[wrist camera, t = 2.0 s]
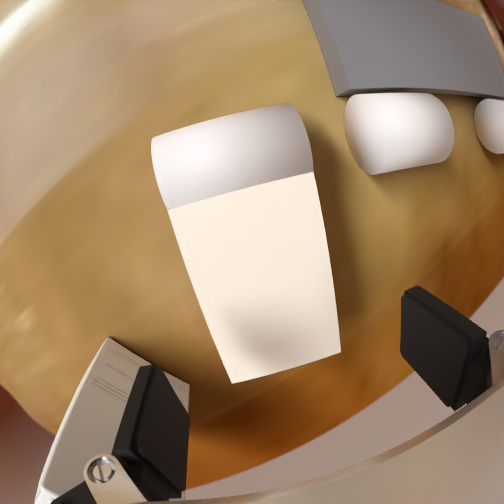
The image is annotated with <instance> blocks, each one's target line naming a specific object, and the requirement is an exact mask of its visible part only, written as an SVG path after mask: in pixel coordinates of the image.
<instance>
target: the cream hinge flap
mask: <svg viewBox="0 0 504 504" xmlns="http://www.w3.org/2000/svg"><path fill="white" fill-rule="evenodd" d="M151 153H152V161H153V167H154V172H155V176H156V180H157V183H158V187H159V190H160V193H161V196H162V198H163V201H164V203H165V206H166V208H167V210H168V213H169V216H170V219H171V222H172V226H173V229H174V232H175V235H176V238H177V241H178V244H179V247H180V250H181V253H182V256H183V259H184V262H185V265H186V268H187V271H188V273H189V276H190V279H191V282H192V285H193V287H194V290H195V293H196V296H197V298H198V301H199V304H200V306H201V309H202V312H203V314H204V317H205V319H206V322H207V325H208V327H209V330H210V332H211V335H212V337H213V340H214V342H215V345H216V347H217V350H218V352H219V354H220V357H221V359H222V362H223V364H224V366H225V369H226V371H227V373H228V376H229V378H230V380H231V383H232V384H233V383H237V382H242V381H246V380H250V379H254V378H258V377H262V376H266V375H269V374H273V373H277V372H280V371H284V370H287V369H291V368H294V367H297V366H301V365H304V364H307V363H310V362H313V361H316V360H319V359H322V358H325V357H328V356H331V355H334V354H337V353H340V352H341V347H340V336H339V327H338V317H337V309H336V301H335V293H334V285H333V278H332V271H331V264H330V258H329V252H328V245H327V239H326V234H325V228H324V222H323V217H322V211H321V206H320V201H319V196H318V191H317V186H316V182H315V177H314V172H313V158H312V151H311V146H310V142H309V138H308V135H307V132H306V129H305V126H304V124H303V121H302V119H301V117H300V115H299V113H298V112H297V110H296V109H295V108H294V107H293V106H292V105H291V104H289V103H285V104H279V105H274V106H268V107H263V108H258V109H253V110H249V111H244V112H240V113H235V114H231V115H227V116H223V117H219V118H215V119H211V120H208V121H204V122H201V123H197V124H194V125H190V126H187V127H183V128H180V129H177V130H174V131H171V132H168V133H165V134H162V135H159V136H156V137H153V139H152V143H151Z"/></svg>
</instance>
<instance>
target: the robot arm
mask: <svg viewBox="0 0 504 504" xmlns="http://www.w3.org/2000/svg"><path fill="white" fill-rule="evenodd" d="M486 334H487V332H486V331H485V330H483V329H482V328H480V327H479V326H478V325H476V324H475V323H473V322H472V321H471V320H469V319H468V318H466V317H465V316H463V315H462V314H461V313H459V312H458V311H456V310H455V309H453V308H452V307H450V306H449V305H447V304H446V303H444V302H443V301H441V300H440V299H438V298H437V297H435V296H434V295H432V294H431V293H429V292H428V291H426V290H425V289H423V288H421V287H420V286H415V287H413V288H410V289H408V290H406V291H405V292H404V295H403V296H402V298H401V342H400V352H401V355H402V357H403V358H404V359H405V360H406V361H407V362H408V363H409V364H410V366H411V367H412V368H413V369H414V370H415V371H416V372H417V373H418V374H419V376H420V377H421V378H422V379H423V380H424V381H425V382H426V383H427V385H428V386H429V387H430V388H431V389H432V390H433V391H434V392H435V394H436V395H437V396H438V397H439V398H440V400H441V401H442V402H443V403H444V404H445V405H446V406H447V407H450V406H451V408H452V409H453V410H454V411H456V410H457V409H459V408H460V407H462V406H463V405H465V403H466V404H467V405H466V406H465V407H463V408H462V409H460V410H459V411H457V412H456V413H454V414H453V415H451V416H450V417H448V418H446V419H445V420H443V421H442V422H440V423H438V424H437V425H435V426H433V427H432V428H430V429H428V430H427V431H425V432H423V433H421V434H420V435H418V436H416V437H414V438H412V439H411V440H409V441H407V442H405V443H403V444H401V445H399V446H397V447H395V448H393V449H391V450H388V451H386V452H384V453H382V454H380V455H378V456H376V457H373V458H371V459H369V460H366V461H364V462H361V463H358V464H356V465H353V466H351V467H349V468H345V469H343V470H340V471H337V472H334V473H331V474H328V475H325V476H322V477H319V478H316V479H312V480H309V481H305V482H301V483H298V484H294V485H290V486H285V487H281V488H277V489H272V490H267V491H262V492H257V493H251V494H245V495H238V496H231V497H222V498H212V499H200V500H184V501H169V499H181V496H182V491H185V489H186V474H187V456H188V440H189V427H190V418H189V415H188V412H187V411H186V409H185V408H184V406H183V404H182V403H181V401H180V399H179V398H178V396H177V394H176V393H175V391H174V389H173V387H172V386H171V384H170V382H169V380H168V379H167V377H166V375H165V373H164V371H163V369H162V368H161V367H157V366H156V365H155V364H151V365H145V366H140V367H139V369H138V372H137V375H136V378H135V381H134V383H133V386H132V389H131V392H130V395H129V398H128V401H127V404H126V407H125V410H124V413H123V416H122V419H121V422H120V425H119V429H118V432H117V435H116V438H115V442H114V445H113V449H112V453H111V455H110V454H99V455H97V456H94V457H93V458H91V459H90V460H89V461H88V462H87V464H86V465H85V468H84V473H83V475H84V479H85V481H83V482H82V483H80V484H79V485H77V486H76V487H74V488H72V489H71V490H69V491H67V492H66V493H64V494H63V495H61V496H59V497H57V498H56V499H54V500H53V501H52V502H51V503H50V504H504V330H499V331H496V332H494V333H493V334H492V335H491V336H490V338H489V339H488V338H487V337H486Z"/></svg>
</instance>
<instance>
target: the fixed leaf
mask: <svg viewBox="0 0 504 504" xmlns="http://www.w3.org/2000/svg"><path fill="white" fill-rule="evenodd" d="M302 1H303V3H304V6H305V8H306V11H307V13H308V16H309V18H310V21H311V23H312V26H313V28H314V31H315V34H316V36H317V39H318V42H319V45H320V47H321V50H322V53H323V56H324V59H325V62H326V65H327V68H328V72H329V75H330V78H331V81H332V85H333V88H334V92H335V95H336V96H346V95H353V96H352V97H351V98H350V99H349V100H348V102H347V104H346V107H345V113H344V126H345V134H346V138H347V142H348V145H349V148H350V151H351V153H352V155H353V157H354V159H355V161H356V163H357V164H358V165H359V167H360V168H361V169H362V170H363V171H364V172H366V173H368V174H370V175H376V174H381V173H386V172H391V171H396V170H401V169H407V168H412V167H417V166H423V165H429V164H435V163H440V162H443V161H444V160H446V159H447V158H448V157H449V155H450V154H451V151H452V149H453V145H454V126H453V122H452V119H451V116H450V114H449V112H448V110H447V108H446V107H445V105H444V104H443V103H442V102H441V101H440V100H439V99H438V98H437V97H435V96H434V95H431V94H428V93H433V94H451V95H463V96H472V97H481V98H488V99H484V100H482V101H481V102H480V103H479V104H478V105H477V107H476V109H475V113H474V126H475V130H476V133H477V136H478V138H479V140H480V141H481V143H482V144H483V146H484V147H485V148H486V149H488V150H489V151H491V152H493V153H496V154H503V153H504V101H502V100H497V99H504V72H503V69H502V66H501V63H500V60H499V57H498V54H497V51H496V49H495V46H494V43H493V41H492V38H491V36H490V33H489V31H488V29H487V26H486V24H485V22H484V20H483V19H482V18H480V17H477V16H475V15H473V14H471V13H468V12H466V11H464V10H461V9H459V8H456V7H454V6H451V5H448V4H446V3H443V2H440V1H437V0H302Z"/></svg>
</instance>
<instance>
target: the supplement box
mask: <svg viewBox="0 0 504 504" xmlns="http://www.w3.org/2000/svg"><path fill="white" fill-rule="evenodd" d="M145 365H151V364H150V363H149V362H147V361H145V360H144V359H142V358H140V357H139V356H137V355H135V354H134V353H132V352H131V351H129V350H127V349H126V348H124V347H123V346H121V345H120V344H118V343H116V342H115V341H114V340H112V339H111V338H109V337H107V338H106V340H105V341H104V343H103V345H102V346H101V348H100V349H99V351H98V353H97V354H96V356H95V357H94V359H93V361H92V362H91V364H90V366H89V367H88V369H87V371H86V373H85V375H84V376H83V378H82V380H81V382H80V384H79V386H78V388H77V390H76V392H75V394H74V397H73V399H72V401H71V403H70V405H69V408H68V410H67V412H66V414H65V417H64V419H63V421H62V423H61V426H60V428H59V430H58V433H57V435H56V437H55V440H54V443H53V445H52V447H51V450H50V453H49V456H48V458H47V461H46V464H45V466H44V469H43V472H42V475H41V478H40V482H39V485H38V489H37V494H36V499H35V503H34V504H50V503H51V502H52V501H53V500H54V499H56V498H57V497H59V496H61V495H63V494H64V493H66V492H67V491H69V490H71V489H72V488H74V487H76V486H77V485H79V484H80V483H82V482H83V481H85V479H84V475H83V473H84V468H85V465H86V464H87V462H88V461H89V460H90V459H91V458H93V457H94V456H97V455H99V454H110V455H111V453H112V449H113V445H114V442H115V438H116V435H117V432H118V429H119V425H120V422H121V419H122V416H123V413H124V410H125V407H126V404H127V401H128V398H129V395H130V392H131V389H132V386H133V383H134V381H135V378H136V375H137V372H138V369H139V367H140V366H145ZM164 373H165V375H166V377H167V379H168V380H169V382H170V384H171V386H172V387H173V389H174V391H175V393H176V394H177V396H178V398H179V399H180V401H181V403H182V404H183V406H184V408H185V409H186V411H187V412H188V405H189V388H190V385H189V384H187V383H186V382H183V381H181V380H180V379H178V378H176V377H174V376H172V375H170V374H168V373H166V372H165V371H164ZM184 500H185V491H182V496H181V499H169V501H184Z"/></svg>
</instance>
